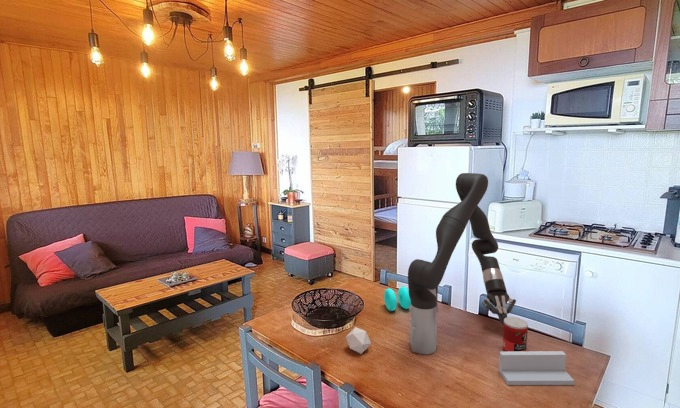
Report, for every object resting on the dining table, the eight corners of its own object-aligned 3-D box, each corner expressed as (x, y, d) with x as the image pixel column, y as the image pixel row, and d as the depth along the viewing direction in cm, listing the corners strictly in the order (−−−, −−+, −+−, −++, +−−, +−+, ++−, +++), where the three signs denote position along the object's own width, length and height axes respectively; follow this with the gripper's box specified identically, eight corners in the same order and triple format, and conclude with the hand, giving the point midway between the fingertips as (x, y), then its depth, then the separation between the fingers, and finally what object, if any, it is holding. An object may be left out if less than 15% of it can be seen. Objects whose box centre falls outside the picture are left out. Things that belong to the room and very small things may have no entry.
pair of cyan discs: (383, 305, 169) (383, 285, 168) (403, 302, 172) (403, 282, 170) (391, 315, 160) (391, 293, 158) (412, 312, 162) (412, 291, 160)
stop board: (507, 385, 112) (508, 364, 111) (498, 371, 119) (499, 351, 118) (574, 385, 111) (575, 364, 110) (561, 370, 118) (562, 351, 117)
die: (375, 351, 134) (369, 324, 138) (368, 351, 126) (361, 323, 131) (355, 356, 136) (349, 330, 140) (346, 356, 129) (341, 329, 133)
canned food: (517, 359, 125) (518, 329, 123) (497, 348, 132) (498, 319, 130) (531, 352, 128) (533, 323, 127) (511, 342, 135) (512, 314, 134)
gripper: (479, 278, 145) (490, 321, 135) (513, 277, 145) (526, 321, 135) (475, 285, 151) (484, 327, 141) (507, 285, 151) (519, 327, 141)
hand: (504, 324), depth 138 cm, fingers closed
